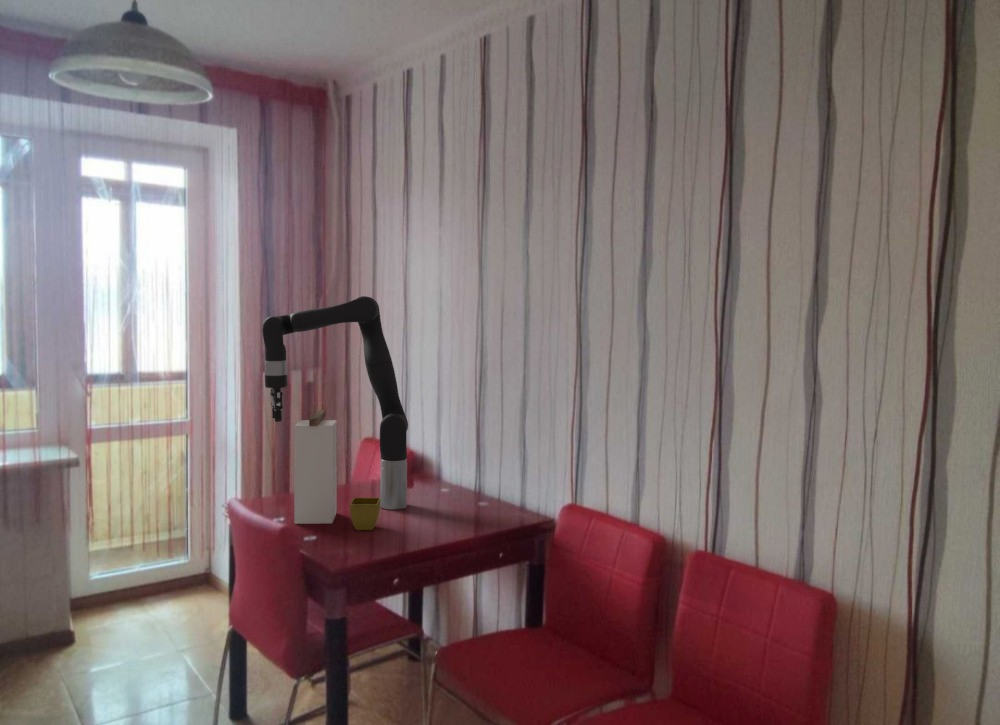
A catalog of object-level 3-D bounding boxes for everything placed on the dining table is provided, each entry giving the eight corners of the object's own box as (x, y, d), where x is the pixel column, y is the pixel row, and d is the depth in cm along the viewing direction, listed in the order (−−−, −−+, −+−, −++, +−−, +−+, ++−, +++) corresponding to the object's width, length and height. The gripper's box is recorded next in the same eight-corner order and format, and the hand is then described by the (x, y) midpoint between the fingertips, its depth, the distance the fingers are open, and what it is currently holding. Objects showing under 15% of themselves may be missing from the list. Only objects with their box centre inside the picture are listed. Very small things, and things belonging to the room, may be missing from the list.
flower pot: (349, 532, 234) (349, 504, 234) (353, 524, 243) (353, 497, 242) (377, 532, 235) (377, 504, 234) (380, 524, 243) (380, 497, 243)
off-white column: (336, 513, 256) (336, 420, 253) (332, 523, 244) (332, 425, 241) (300, 513, 254) (300, 420, 252) (294, 523, 242) (294, 425, 240)
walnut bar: (325, 416, 262) (325, 409, 261) (316, 426, 240) (316, 418, 240) (318, 416, 261) (318, 409, 261) (309, 426, 240) (309, 418, 239)
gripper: (289, 375, 255) (290, 422, 256) (284, 371, 268) (285, 416, 270) (266, 375, 252) (267, 423, 254) (263, 372, 266) (263, 417, 267)
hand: (277, 419), depth 262 cm, fingers open, 8 cm apart
